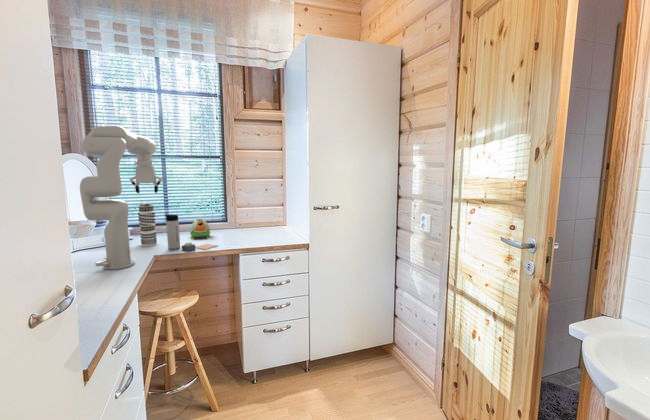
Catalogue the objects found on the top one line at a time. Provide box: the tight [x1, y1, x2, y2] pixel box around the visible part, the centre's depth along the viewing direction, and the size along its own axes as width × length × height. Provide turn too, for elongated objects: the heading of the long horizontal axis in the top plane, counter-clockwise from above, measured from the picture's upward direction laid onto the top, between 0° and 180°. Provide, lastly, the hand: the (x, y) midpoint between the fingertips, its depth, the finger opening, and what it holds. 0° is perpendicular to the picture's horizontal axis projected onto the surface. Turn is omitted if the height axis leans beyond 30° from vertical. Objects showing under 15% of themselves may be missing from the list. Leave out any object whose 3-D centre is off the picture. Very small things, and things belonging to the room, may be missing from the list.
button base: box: [181, 243, 196, 253], centre depth 186 cm, size 5×5×3 cm
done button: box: [184, 241, 193, 246], centre depth 186 cm, size 4×4×2 cm
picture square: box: [195, 243, 218, 251], centre depth 194 cm, size 10×10×1 cm
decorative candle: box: [137, 202, 158, 247], centre depth 199 cm, size 9×9×25 cm
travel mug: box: [164, 214, 181, 251], centre depth 188 cm, size 6×7×20 cm
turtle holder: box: [189, 218, 211, 240], centre depth 221 cm, size 12×18×12 cm
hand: (147, 192), depth 198 cm, fingers open, 9 cm apart
